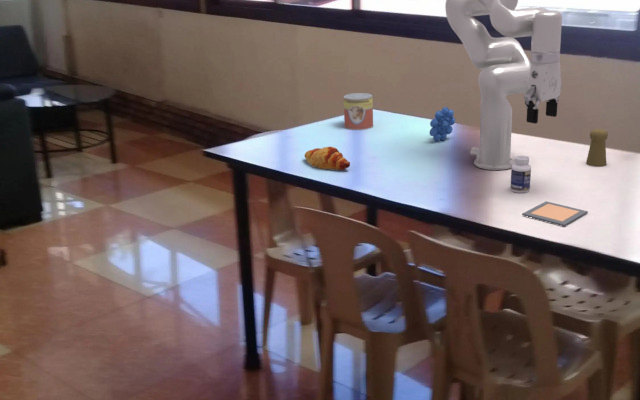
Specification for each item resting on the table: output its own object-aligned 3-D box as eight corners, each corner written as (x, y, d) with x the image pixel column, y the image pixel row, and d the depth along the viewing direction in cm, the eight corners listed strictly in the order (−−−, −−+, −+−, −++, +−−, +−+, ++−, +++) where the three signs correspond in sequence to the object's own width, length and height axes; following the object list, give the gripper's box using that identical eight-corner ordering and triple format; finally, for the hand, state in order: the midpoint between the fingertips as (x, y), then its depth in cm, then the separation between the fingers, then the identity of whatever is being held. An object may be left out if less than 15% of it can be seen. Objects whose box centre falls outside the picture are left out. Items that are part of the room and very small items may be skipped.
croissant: (299, 171, 249) (290, 153, 244) (318, 151, 253) (309, 134, 248) (344, 183, 234) (334, 164, 229) (363, 162, 238) (354, 143, 233)
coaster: (522, 215, 193) (522, 213, 193) (545, 203, 201) (546, 201, 201) (564, 226, 185) (564, 224, 185) (587, 213, 193) (587, 211, 193)
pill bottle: (526, 194, 208) (528, 161, 205) (507, 191, 211) (509, 159, 208) (532, 188, 212) (534, 156, 209) (513, 186, 215) (515, 153, 212)
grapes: (445, 135, 270) (446, 103, 266) (459, 138, 265) (459, 106, 261) (421, 141, 264) (422, 108, 260) (434, 145, 259) (435, 111, 255)
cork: (607, 166, 228) (611, 132, 224) (587, 166, 229) (590, 132, 226) (604, 161, 234) (608, 127, 230) (584, 160, 235) (587, 127, 231)
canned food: (342, 130, 284) (341, 99, 279) (346, 122, 294) (345, 93, 290) (371, 130, 282) (371, 99, 278) (374, 122, 292) (374, 92, 288)
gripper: (539, 63, 193) (536, 127, 199) (574, 54, 204) (570, 115, 210) (515, 61, 198) (512, 123, 204) (549, 52, 209) (546, 111, 215)
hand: (541, 119), depth 207 cm, fingers open, 9 cm apart
